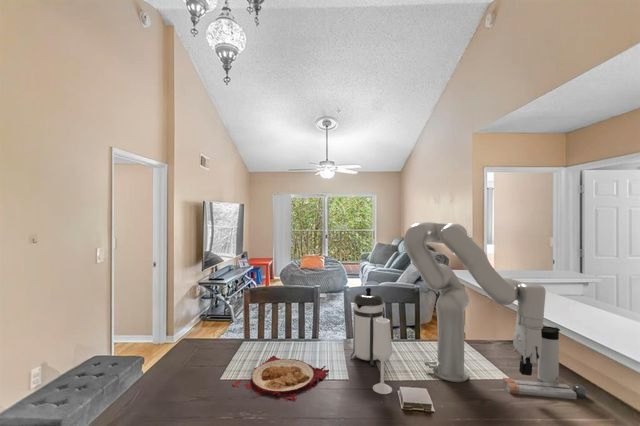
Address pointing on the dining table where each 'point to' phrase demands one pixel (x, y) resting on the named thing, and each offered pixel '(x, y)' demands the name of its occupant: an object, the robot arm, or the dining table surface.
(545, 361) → the travel mug
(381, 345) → the champagne flute
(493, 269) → the robot arm
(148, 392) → the dining table surface
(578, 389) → the base
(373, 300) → the coffee press
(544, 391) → the arm
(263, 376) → the plate with food
